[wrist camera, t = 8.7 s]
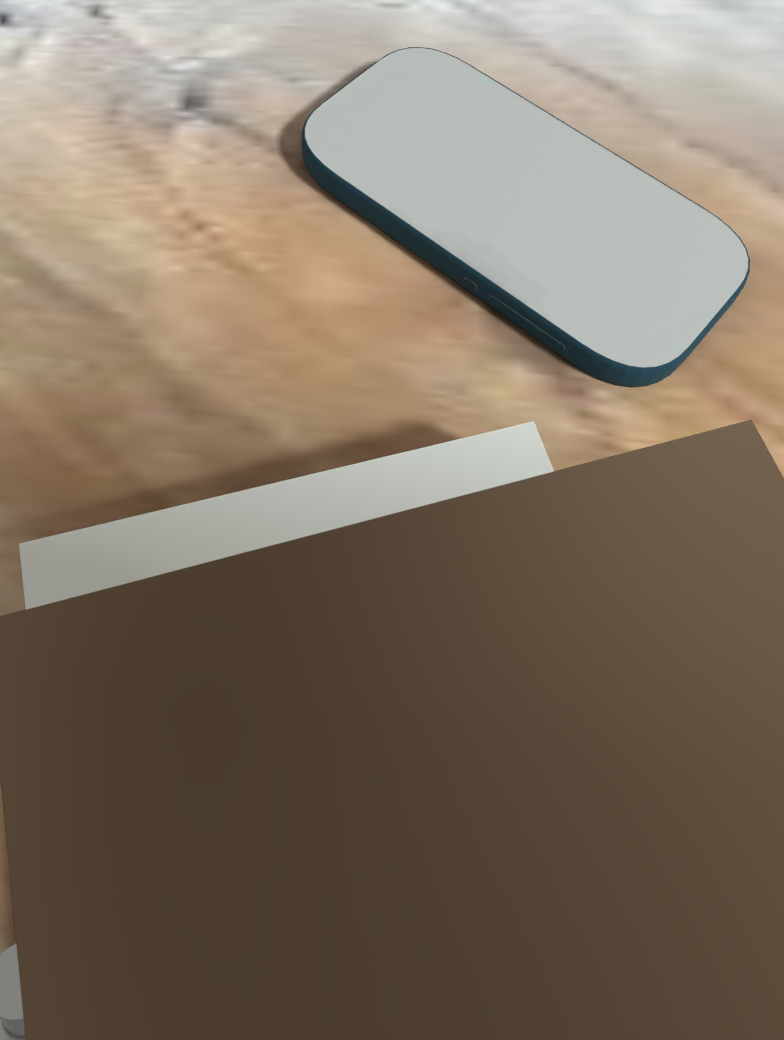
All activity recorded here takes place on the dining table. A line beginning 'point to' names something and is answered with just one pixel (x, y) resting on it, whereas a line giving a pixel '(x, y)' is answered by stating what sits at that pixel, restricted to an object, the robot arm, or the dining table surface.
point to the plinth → (274, 513)
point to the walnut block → (419, 773)
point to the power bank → (527, 214)
